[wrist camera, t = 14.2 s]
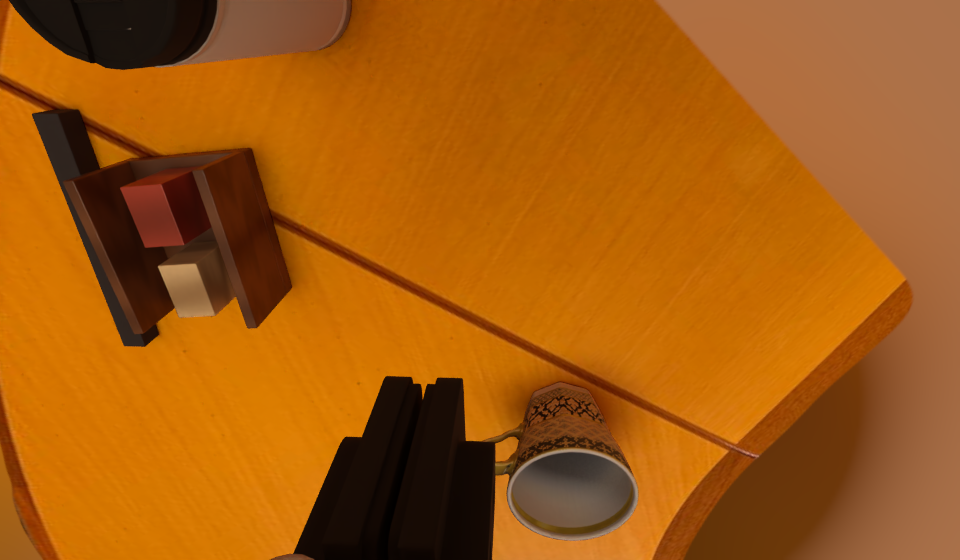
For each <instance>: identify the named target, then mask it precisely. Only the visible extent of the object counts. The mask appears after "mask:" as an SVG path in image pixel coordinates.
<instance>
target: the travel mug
mask: <svg viewBox="0 0 960 560" xmlns="http://www.w3.org/2000/svg"><path fill="white" fill-rule="evenodd" d="M9 1H10V3H11V4H12V5H13V7H14V8H15V10H16V11H17V12H18V13H19V14H20V15H21V16H22V17H23V19H24V20H25V21H26V22H27V23H28V24H29V25H30V26H31V27H32V28H33V29H34V30H35V31H36V32H37V33H38V34H40V35H41V36H42V37H43V38H44V39H45V40H46V41H48V42H49V43H50V44H52V45H53V46H55V47H56V48H58V49H59V50H61V51H62V52H64V53H65V54H67V55H69V56H72V57H75V58H78V59H81V60H84V61H86V62H89V63H97V64H99V65H101V66H103V67H105V68H111V69H121V70H125V69H135V68H145V67H169V66H178V65H187V64H196V63H205V62H214V61H224V60H233V59H242V58H251V57H260V56H269V55H278V54H287V53H296V52H305V51H314V50H321V49H324V48H327V47H329V46H330V45H332V44H333V43H335V42H336V41H337V40H338V39H339V38H340V37H341V36H342V34H343V32H344V31H345V29H346V27H347V24H348V21H349V18H350V12H351V0H9Z"/></svg>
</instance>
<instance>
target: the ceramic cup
mask: <svg viewBox="0 0 960 560" xmlns="http://www.w3.org/2000/svg"><path fill="white" fill-rule="evenodd" d="M513 436H514V437H517V439H518V440H519V443H518V447H517V450H516V451H515V453H513V454H512V455H511V456H510V458H509V459H508V460H506V461H500V462H495V475H504V474H509V476H510V477H509V482H508V487H507V501H508V505H509V507H510V509H511V512H512V513H513V515H514V516H515V517H516V518H517V520H518V521H519V522H520V523H522V524H523V525H524V526H525V527H527V528H528V529H530V530H532V531H534V532H536V533H538V534H540V535H543V536H546V537H549V538H553V539H559V540H571V541H576V540H587V539H592V538H596V537H600V536H603V535H605V534H608V533H610V532H612V531H614V530H615V529H617V528H619V527H620V526H621V525H622V524H624V523H625V522H626V521H627V520H628V519H629V518H630V516H631V515H632V514H633V512H634V510H635V508H636V505H637V502H638V486H637V483H636V480H635V478H634V476H633V473H632V471H631V469H630V466H629V465H628V463H627V461H626V459H625V457H624V455H623V453H622V451H621V449H620V448H619V446H618V444H617V443H616V441H615V440H614V438H613V437H612V435H611V433H610V431H609V429H608V427H607V425H606V422H605V420H604V418H603V416H602V414H601V412H600V410H599V408H598V406H597V404H596V403H595V401H594V399H593V397H592V396H591V394H590V392H589V391H588V390H587V389H584V388H581V387H577V386H573V385H570V384H566V383H562V382H558V383H555V384H553V385H550V386H548V387H545V388H543V389H540V390H538V391H535V392H534V393H533V395H532V398H531V400H530V402H529V405H528V407H527V410H526V412H525V417H524V421H523V423H521V424H520V425H519V426H518V427H517V428H515V429H513V430H509V431H507V432H505V433H503V434H502V435H499V436H496V437H493V438H489V439H486V440H483V441H481V442H495V443H498V442H501V441H503V440H504V439H506V438H508V437H513Z"/></svg>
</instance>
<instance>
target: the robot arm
mask: <svg viewBox="0 0 960 560" xmlns="http://www.w3.org/2000/svg"><path fill="white" fill-rule="evenodd" d="M494 507H495V442H480V441H466V438H465V414H464V390H463V379H462V378H437V380H436V383H435V384H427V386H426V390H425V394H424V398H423V399H422V388H421V384H413V380H412V378H411V377H396V376H386V377H385V378H384V380H383V383H382V386H381V388H380V391H379V394H378V396H377V399H376V401H375V404H374V407H373V409H372V412H371V415H370V417H369V420H368V422H367V425H366V428H365V430H364V433H363V435H362V437H345V438H344V439H343V440H342V442H341V444H340V446H339V448H338V450H337V453H336V455H335V457H334V460H333V462H332V464H331V467H330V469H329V471H328V474H327V476H326V478H325V481H324V483H323V485H322V488H321V490H320V492H319V495H318V497H317V499H316V502H315V504H314V506H313V509H312V511H311V513H310V516H309V518H308V520H307V523H306V525H305V527H304V530H303V532H302V535H301V537H300V539H299V542H298V544H297V546H296V549H295V551H294V553H293V554H287V555H282V556H278V557H275V558H273V559H271V560H492V548H493V528H494Z"/></svg>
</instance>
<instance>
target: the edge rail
mask: <svg viewBox="0 0 960 560" xmlns="http://www.w3.org/2000/svg"><path fill="white" fill-rule="evenodd" d="M32 116H33V119H34V121H35V124H36V126H37V129H38V131H39V134H40V136H41V139H42V141H43V144H44V146H45V149H46V151H47V154H48V156H49V159H50V161H51V164H52V166H53V169H54V171H55V174H56V176H57V179H58V181H59V184H60V186H61V189H62V191H63V194H64V196H65V199H66V201H67V204H68V206H69V209H70V212H71V214H72V217H73V219H74V222H75V224H76V227H77V229H78V232H79V234H80V237H81V239H82V242H83V244H84V247H85V249H86V252H87V254H88V257H89V259H90V262H91V264H92V267H93V269H94V272H95V274H96V277H97V279H98V282H99V284H100V287H101V289H102V292H103V294H104V297H105V299H106V302H107V304H108V307H109V309H110V312H111V314H112V317H113V319H114V322H115V324H116V327H117V329H118V332H119V334H120V337H121V339H122V342H123V344H124V346H141V347H145V346H146V345H147V344H149V343H150V342H151V341H152V340H153V339H154V338H156V337H157V336H158V335H159V333H158V331H157V328H156V325H155V324H154V325H153V326H152V327H151V328H150V329H148V330H147V331H146V332H145V333H143V334H134V332H133V330H132V328H131V326H130V324H129V322H128V320H127V317H126V315H125V313H124V311H123V309H122V307H121V305H120V303H119V300H118V298H117V296H116V294H115V292H114V290H113V288H112V286H111V283H110V281H109V279H108V277H107V275H106V273H105V271H104V269H103V266H102V264H101V262H100V260H99V258H98V256H97V254H96V252H95V249H94V247H93V245H92V243H91V241H90V239H89V237H88V235H87V232H86V230H85V228H84V226H83V224H82V222H81V220H80V218H79V215H78V213H77V211H76V209H75V207H74V205H73V203H72V201H71V198H70V196H69V194H68V192H67V190H66V188H65V186H64V184H63V181H66V180H68V179H71V178H74V177H77V176H80V175H83V174H86V173H89V172H92V171H95V170H98V169H100V168H99V166H98V163H97V160H96V157H95V154H94V152H93V149H92V146H91V143H90V140H89V138H88V135H87V132H86V129H85V126H84V124H83V121H82V118H81V115H80V112H79V110H50V111H44V112H38V113H33V114H32Z"/></svg>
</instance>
